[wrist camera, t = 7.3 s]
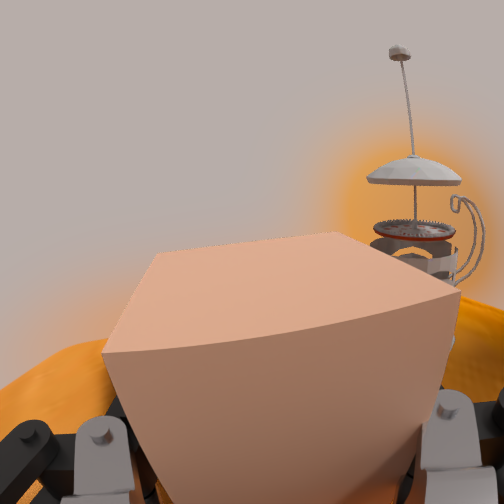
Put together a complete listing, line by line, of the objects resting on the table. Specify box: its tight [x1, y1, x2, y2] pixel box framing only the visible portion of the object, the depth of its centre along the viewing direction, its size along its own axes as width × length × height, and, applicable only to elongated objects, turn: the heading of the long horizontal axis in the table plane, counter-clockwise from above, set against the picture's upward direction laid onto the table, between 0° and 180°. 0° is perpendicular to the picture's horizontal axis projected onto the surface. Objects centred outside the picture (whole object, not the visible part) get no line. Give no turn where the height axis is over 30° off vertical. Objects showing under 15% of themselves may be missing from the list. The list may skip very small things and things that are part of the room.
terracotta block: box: [101, 232, 461, 504], centre depth 7 cm, size 5×5×10 cm
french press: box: [367, 45, 485, 351], centre depth 21 cm, size 10×12×25 cm
